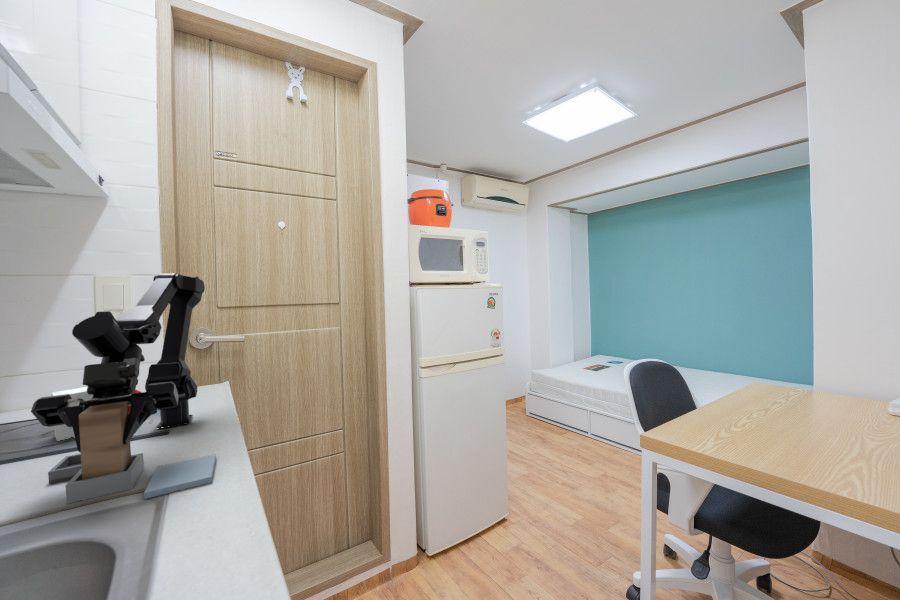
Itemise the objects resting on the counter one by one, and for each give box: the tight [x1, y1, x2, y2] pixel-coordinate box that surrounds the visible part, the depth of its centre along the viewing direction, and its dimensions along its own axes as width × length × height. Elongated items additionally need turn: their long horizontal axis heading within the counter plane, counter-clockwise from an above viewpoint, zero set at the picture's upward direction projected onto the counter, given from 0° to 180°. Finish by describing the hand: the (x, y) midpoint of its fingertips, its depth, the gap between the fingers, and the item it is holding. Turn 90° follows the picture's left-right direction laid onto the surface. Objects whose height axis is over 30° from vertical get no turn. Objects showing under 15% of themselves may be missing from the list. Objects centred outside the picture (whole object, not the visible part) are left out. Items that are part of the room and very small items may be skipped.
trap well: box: [47, 453, 82, 484], centre depth 67 cm, size 7×7×2 cm
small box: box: [51, 386, 93, 442], centre depth 85 cm, size 8×6×10 cm
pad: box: [143, 453, 217, 500], centre depth 64 cm, size 10×9×1 cm
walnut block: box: [79, 401, 132, 480], centre depth 61 cm, size 5×5×14 cm
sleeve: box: [65, 452, 145, 505], centre depth 62 cm, size 8×8×3 cm
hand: (103, 447), depth 60 cm, fingers closed on walnut block, 5 cm apart
